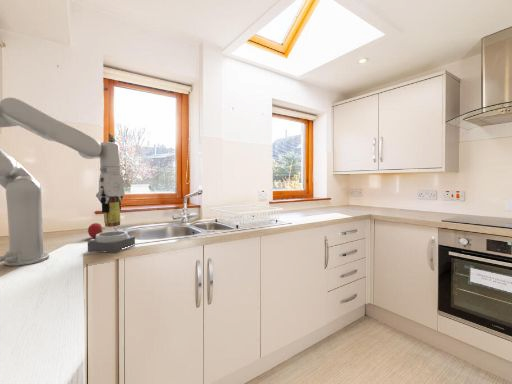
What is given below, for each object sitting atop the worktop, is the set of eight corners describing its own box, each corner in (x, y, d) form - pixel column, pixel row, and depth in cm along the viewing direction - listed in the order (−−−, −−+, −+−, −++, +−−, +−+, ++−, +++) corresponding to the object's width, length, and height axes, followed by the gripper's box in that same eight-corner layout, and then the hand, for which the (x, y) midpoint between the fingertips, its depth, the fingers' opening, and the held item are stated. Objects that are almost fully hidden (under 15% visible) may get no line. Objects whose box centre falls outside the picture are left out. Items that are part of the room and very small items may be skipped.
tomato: (85, 222, 132) (102, 218, 136) (88, 229, 138) (104, 225, 142) (88, 235, 129) (105, 231, 133) (91, 242, 135) (107, 238, 139)
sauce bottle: (123, 224, 118) (122, 181, 117) (114, 227, 112) (113, 181, 111) (109, 224, 118) (108, 181, 117) (100, 227, 112) (98, 181, 111)
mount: (114, 252, 108) (114, 237, 107) (87, 251, 110) (87, 236, 110) (134, 245, 121) (134, 231, 120) (110, 243, 123) (110, 230, 123)
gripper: (102, 170, 105) (104, 214, 105) (131, 171, 121) (132, 209, 122) (86, 170, 106) (88, 214, 107) (117, 171, 123) (118, 209, 124)
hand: (111, 211), depth 115 cm, fingers closed on sauce bottle, 6 cm apart
